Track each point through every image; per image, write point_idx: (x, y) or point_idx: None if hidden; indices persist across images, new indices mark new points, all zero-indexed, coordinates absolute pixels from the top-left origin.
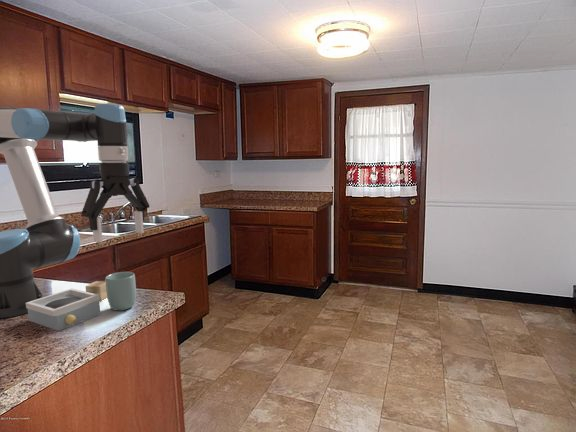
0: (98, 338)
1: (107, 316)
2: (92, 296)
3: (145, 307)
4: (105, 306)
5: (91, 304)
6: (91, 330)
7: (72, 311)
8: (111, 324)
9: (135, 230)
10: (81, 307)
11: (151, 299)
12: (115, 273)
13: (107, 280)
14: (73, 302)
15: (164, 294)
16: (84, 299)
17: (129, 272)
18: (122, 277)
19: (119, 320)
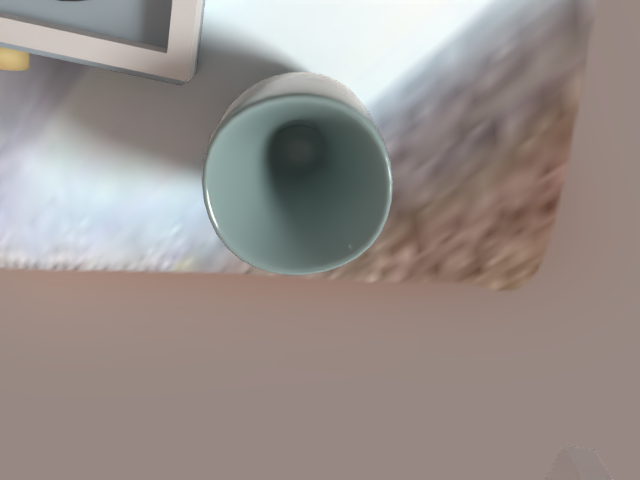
0: (2, 262)
1: (185, 133)
2: (150, 61)
3: None
4: (293, 12)
5: (131, 74)
6: (39, 179)
7: (9, 47)
8: (122, 218)
9: (574, 469)
10: (66, 60)
11: (436, 196)
12: (342, 111)
13: (204, 158)
14: (22, 24)
15: (515, 217)
16: (89, 53)
17: (386, 199)
18: (359, 146)
19: (169, 222)
